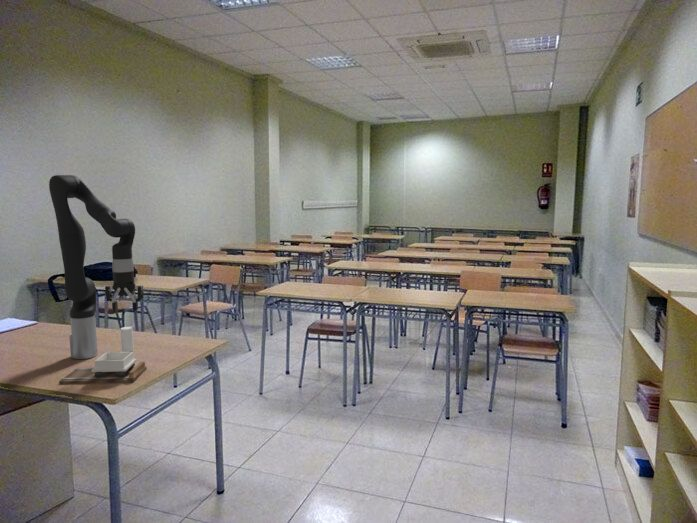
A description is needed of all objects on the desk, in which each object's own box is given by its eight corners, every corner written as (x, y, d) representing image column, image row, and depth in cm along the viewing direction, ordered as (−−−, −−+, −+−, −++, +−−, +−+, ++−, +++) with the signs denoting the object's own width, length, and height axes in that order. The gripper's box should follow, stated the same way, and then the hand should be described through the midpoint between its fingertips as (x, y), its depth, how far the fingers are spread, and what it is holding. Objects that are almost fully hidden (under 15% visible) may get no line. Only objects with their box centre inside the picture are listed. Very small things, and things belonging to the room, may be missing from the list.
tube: (124, 362, 201) (122, 326, 199) (135, 362, 202) (133, 326, 200) (121, 366, 197) (118, 329, 195) (132, 366, 197) (130, 329, 195)
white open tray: (91, 378, 180) (90, 361, 179) (105, 367, 192) (104, 351, 191) (125, 377, 181) (125, 361, 180) (137, 366, 193) (136, 351, 192)
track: (59, 384, 178) (58, 374, 178) (77, 370, 192) (77, 362, 192) (133, 382, 180) (133, 373, 180) (146, 369, 194) (146, 360, 194)
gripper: (100, 271, 190) (102, 314, 192) (138, 271, 191) (140, 313, 193) (108, 268, 198) (110, 309, 200) (145, 268, 199) (147, 309, 201)
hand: (125, 311), depth 197 cm, fingers open, 6 cm apart
